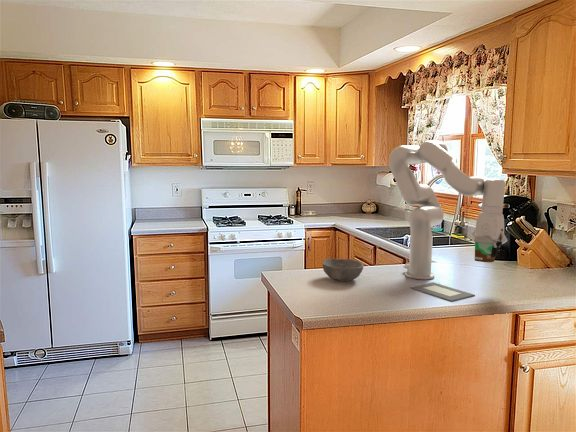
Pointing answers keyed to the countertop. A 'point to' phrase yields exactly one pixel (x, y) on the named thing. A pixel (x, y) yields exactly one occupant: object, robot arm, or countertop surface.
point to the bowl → (342, 269)
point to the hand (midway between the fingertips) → (487, 254)
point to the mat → (442, 291)
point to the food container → (484, 249)
